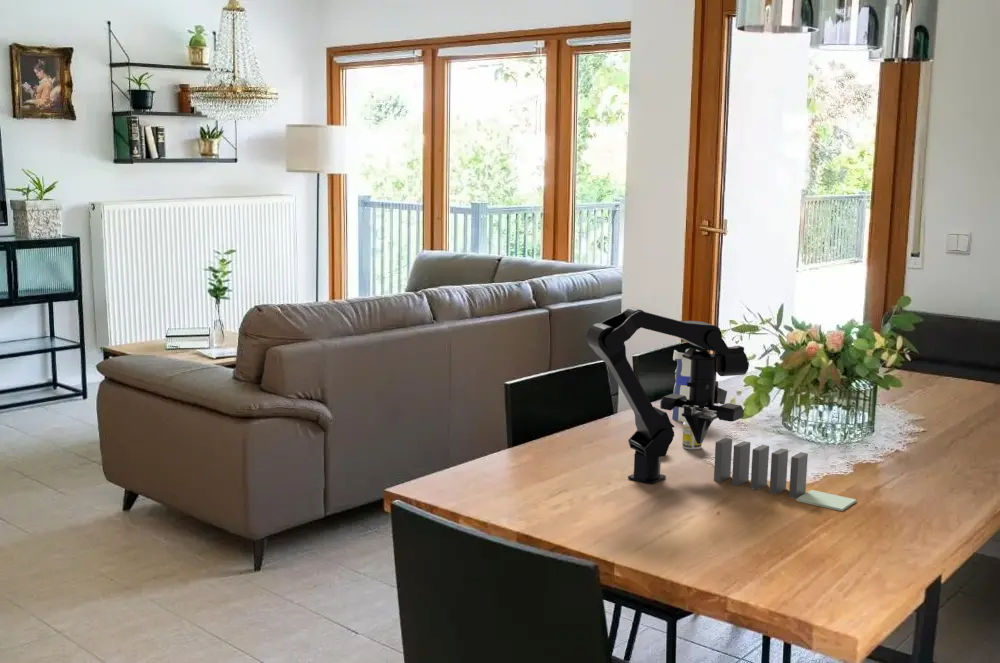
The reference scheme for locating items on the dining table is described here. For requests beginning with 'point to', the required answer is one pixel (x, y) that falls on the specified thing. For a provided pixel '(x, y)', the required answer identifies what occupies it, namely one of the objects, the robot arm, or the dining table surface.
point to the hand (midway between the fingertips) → (699, 443)
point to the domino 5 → (798, 475)
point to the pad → (826, 500)
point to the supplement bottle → (689, 438)
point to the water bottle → (681, 382)
